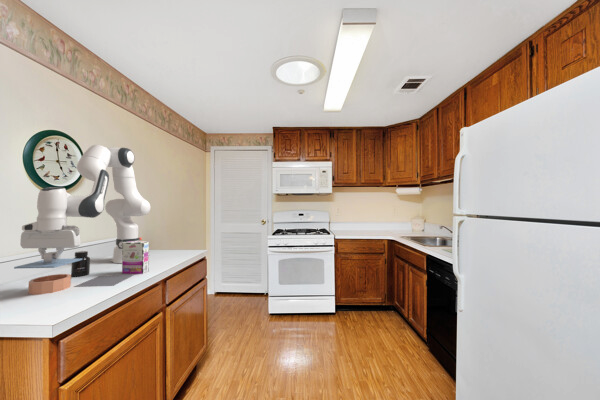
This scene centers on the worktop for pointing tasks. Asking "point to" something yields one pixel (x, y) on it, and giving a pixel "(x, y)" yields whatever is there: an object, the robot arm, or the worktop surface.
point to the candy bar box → (135, 257)
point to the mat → (104, 281)
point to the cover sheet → (46, 265)
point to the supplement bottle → (80, 265)
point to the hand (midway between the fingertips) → (51, 258)
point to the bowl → (49, 284)
